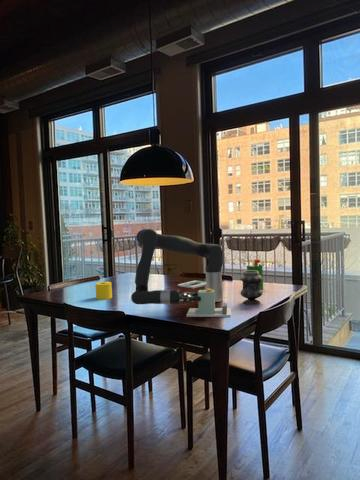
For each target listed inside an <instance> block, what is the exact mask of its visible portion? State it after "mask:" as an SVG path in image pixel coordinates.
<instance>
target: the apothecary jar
mask: <svg viewBox="0 0 360 480" xmlns="http://www.w3.org/2000/svg"><path fill="white" fill-rule="evenodd" d="M261 280H262V277H261V276H260V275H259V271H255V270H247V269H246V270H243V274H241V276H240V281H241V282H242V289H241V290H240V293H239V294H240V295H241V297H243V298H244V299H245V300H243V302H242V304H244V305H249V306H252V305H253V306H256V305H260V304H261V303H262V301H260V300H259V299H258V298H261V297H262V295H263V290H260V281H261Z"/></svg>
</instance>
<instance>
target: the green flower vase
mask: <svg viewBox="0 0 360 480" xmlns="http://www.w3.org/2000/svg"><path fill="white" fill-rule="evenodd" d="M259 263H260V259H259V258H256V259H254V262H253V265H246V270H255V271H259V275H260V276H261V277H262V280H261V281H260V290H261V291H263V290H264V272H263V271H264V269H263V264H259Z"/></svg>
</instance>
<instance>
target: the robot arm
mask: <svg viewBox="0 0 360 480" xmlns="http://www.w3.org/2000/svg"><path fill="white" fill-rule="evenodd" d="M135 238H136V241H137V243H138V244H139V245H140V246H142V253H141V256H140V259H139V262H138V264H137V268H136V271H135V277H134V284H135V291H134V292H132V294H131V297H130V298H131V301H132V303H133V304H134V305H149V304H150V305H151V304H153V305H180V303H187V304H188V303H190V304H191V303H192V302H198V301H201V297H198V292H195V291H182V293H181V291H180V289H163V290H162V289H160V290H159V289H158V290H155V289H154V290H149V279H150V272H151V266H152V260H153V257H154V254H155V250H156V248H160V249H163V250H165V251H169V252H173V253H177V254H181V255H194V256H198V257H202V258H204V259H207V260H208V265H206V266H205V281H206V284H205V286H204V290H207V289H212V290H215V303H218V302H222V301H223V281H222V280H223V279H222V269H223V266H224V265H223V261H224V260H223V258H224V253H223V252H224V251H223V248H222V247H221V245H219V244H214V243H202V242H197V241H194V240H192V239H190V238H187V237H184V236H180V235H173V234H171V235H170V234H161V233H158V232H157V231H156V230H155V229H152V228H142V229H141V230H139V231H138V232H137V233H136V236H135Z"/></svg>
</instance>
